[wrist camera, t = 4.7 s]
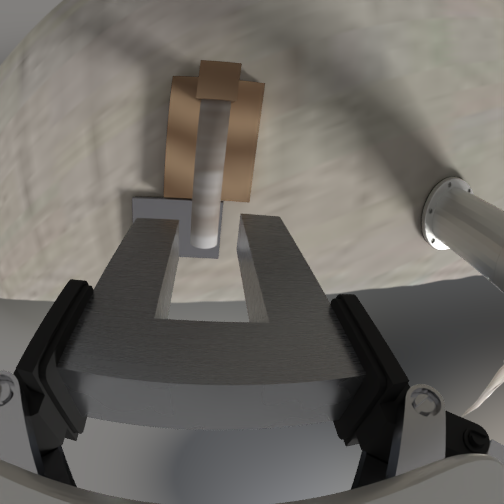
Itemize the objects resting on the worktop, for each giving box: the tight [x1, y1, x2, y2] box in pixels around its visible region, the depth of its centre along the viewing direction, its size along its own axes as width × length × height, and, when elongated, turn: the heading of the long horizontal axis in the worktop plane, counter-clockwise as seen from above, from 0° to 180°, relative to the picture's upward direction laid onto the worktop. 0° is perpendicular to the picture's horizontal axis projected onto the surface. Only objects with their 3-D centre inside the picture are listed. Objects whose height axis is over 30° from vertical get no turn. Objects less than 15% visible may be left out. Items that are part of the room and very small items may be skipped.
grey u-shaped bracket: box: [56, 214, 366, 430], centre depth 11 cm, size 8×2×11 cm, turn 83°
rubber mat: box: [132, 197, 223, 259], centre depth 35 cm, size 11×8×1 cm
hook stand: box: [164, 60, 265, 249], centre depth 24 cm, size 14×10×16 cm
